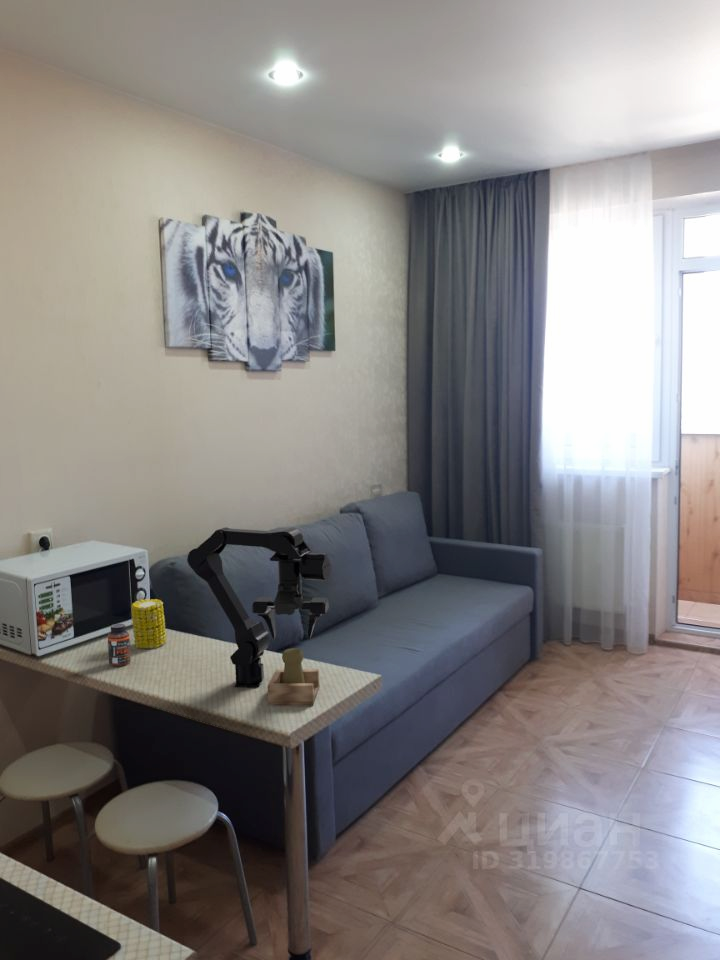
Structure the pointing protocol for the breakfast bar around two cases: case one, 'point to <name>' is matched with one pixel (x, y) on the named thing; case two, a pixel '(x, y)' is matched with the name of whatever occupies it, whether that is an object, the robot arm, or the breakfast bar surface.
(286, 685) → the wooden box
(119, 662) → the supplement bottle
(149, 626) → the food
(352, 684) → the breakfast bar surface
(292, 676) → the cork
